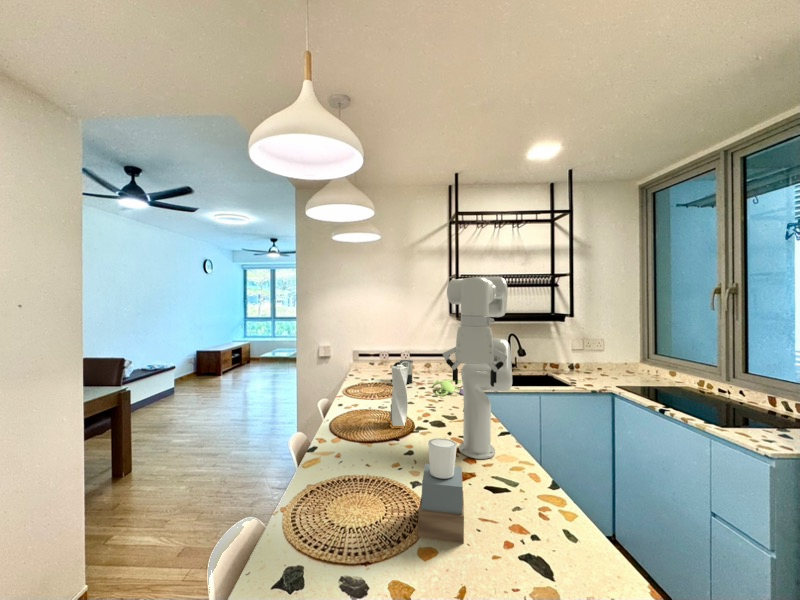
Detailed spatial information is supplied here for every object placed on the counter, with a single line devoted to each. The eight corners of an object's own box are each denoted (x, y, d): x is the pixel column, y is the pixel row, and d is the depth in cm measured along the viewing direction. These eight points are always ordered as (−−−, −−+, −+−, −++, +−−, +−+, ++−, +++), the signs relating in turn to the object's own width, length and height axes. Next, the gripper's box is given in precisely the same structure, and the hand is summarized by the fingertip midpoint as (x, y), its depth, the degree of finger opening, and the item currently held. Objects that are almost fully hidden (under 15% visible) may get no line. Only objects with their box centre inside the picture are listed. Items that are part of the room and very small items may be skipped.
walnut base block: (423, 510, 82) (423, 486, 82) (463, 515, 80) (463, 490, 80) (418, 537, 72) (418, 510, 72) (463, 544, 70) (463, 516, 70)
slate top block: (425, 487, 81) (425, 463, 81) (461, 491, 80) (461, 467, 80) (421, 509, 72) (422, 482, 73) (462, 514, 71) (462, 487, 71)
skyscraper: (408, 423, 143) (409, 360, 143) (408, 430, 135) (409, 363, 135) (390, 422, 143) (390, 359, 144) (388, 429, 135) (389, 362, 136)
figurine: (460, 386, 212) (460, 377, 212) (468, 397, 185) (468, 387, 185) (432, 385, 212) (432, 377, 212) (436, 397, 185) (436, 387, 185)
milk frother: (413, 381, 221) (413, 359, 222) (411, 387, 206) (412, 364, 206) (392, 380, 223) (393, 359, 223) (389, 386, 207) (390, 363, 207)
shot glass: (452, 467, 80) (453, 438, 81) (459, 480, 73) (460, 448, 74) (425, 466, 80) (426, 437, 80) (429, 479, 73) (430, 447, 73)
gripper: (505, 322, 91) (505, 383, 91) (443, 321, 94) (443, 379, 94) (509, 323, 84) (508, 389, 83) (442, 322, 87) (441, 385, 87)
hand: (474, 384), depth 89 cm, fingers open, 9 cm apart
